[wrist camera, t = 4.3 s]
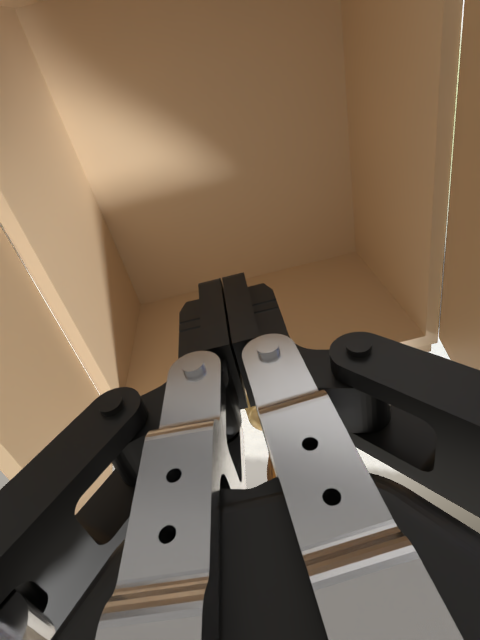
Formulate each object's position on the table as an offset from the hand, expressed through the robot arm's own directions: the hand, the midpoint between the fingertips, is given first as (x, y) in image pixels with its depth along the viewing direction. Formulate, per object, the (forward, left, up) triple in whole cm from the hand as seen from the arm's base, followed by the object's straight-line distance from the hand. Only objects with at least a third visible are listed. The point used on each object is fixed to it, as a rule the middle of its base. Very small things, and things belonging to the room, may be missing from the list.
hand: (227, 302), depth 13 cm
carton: (-1, 0, -23) cm, 23 cm away
